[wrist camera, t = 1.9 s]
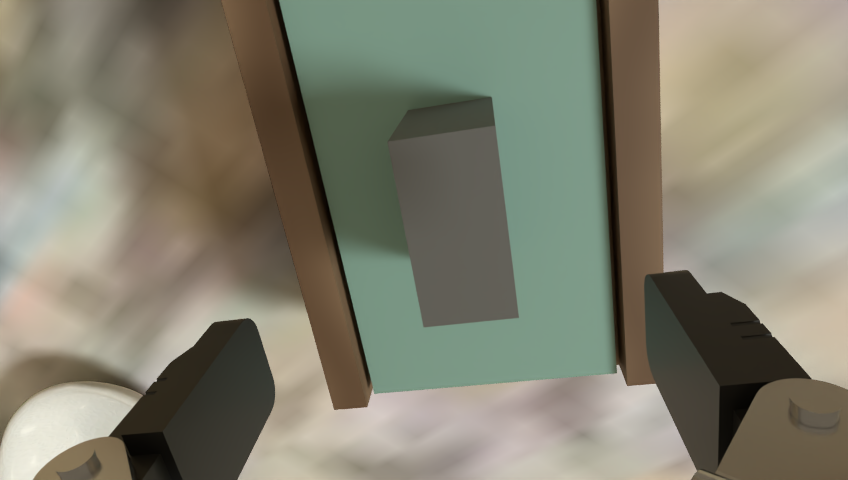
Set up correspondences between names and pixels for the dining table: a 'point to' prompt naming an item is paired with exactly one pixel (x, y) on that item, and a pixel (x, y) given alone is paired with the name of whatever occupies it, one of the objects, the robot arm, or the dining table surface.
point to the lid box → (311, 218)
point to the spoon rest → (60, 424)
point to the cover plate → (537, 165)
